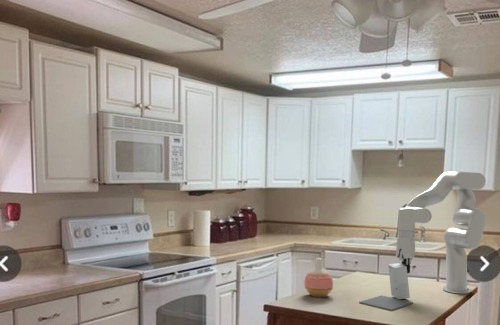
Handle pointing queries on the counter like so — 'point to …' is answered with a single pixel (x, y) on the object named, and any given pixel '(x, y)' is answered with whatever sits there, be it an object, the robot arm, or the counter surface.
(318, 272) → the vase
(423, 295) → the counter surface
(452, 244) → the robot arm
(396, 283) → the skincare box
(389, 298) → the mat
